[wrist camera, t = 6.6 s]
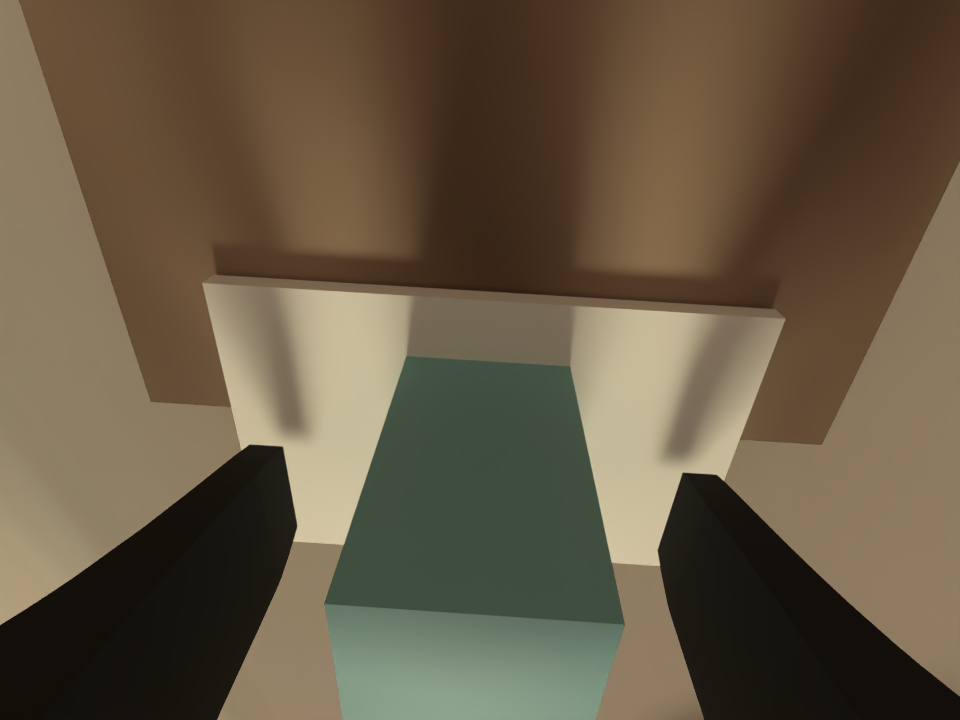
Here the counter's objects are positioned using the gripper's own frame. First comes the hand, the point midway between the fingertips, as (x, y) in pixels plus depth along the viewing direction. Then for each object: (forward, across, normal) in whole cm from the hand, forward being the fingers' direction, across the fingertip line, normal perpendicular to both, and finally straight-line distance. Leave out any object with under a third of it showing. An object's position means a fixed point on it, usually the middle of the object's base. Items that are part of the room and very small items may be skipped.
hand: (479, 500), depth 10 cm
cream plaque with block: (+2, 0, 0) cm, 2 cm away
